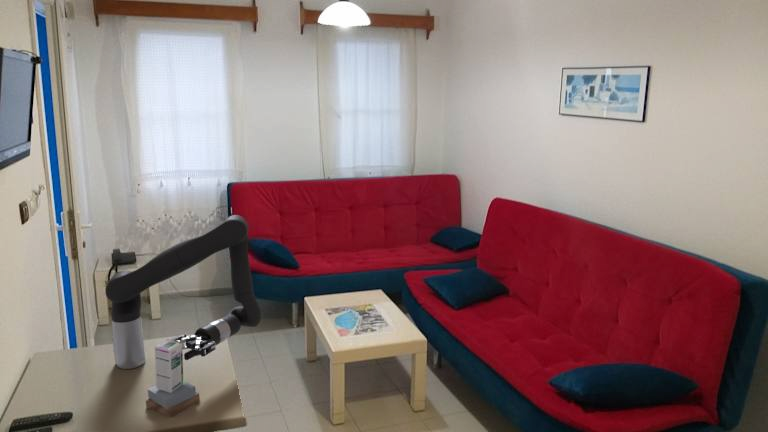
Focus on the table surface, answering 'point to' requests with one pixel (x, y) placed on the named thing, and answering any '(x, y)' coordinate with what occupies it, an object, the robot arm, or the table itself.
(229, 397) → the table surface
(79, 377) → the table surface
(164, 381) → the syrup box
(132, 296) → the robot arm
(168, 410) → the tower base
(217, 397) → the table surface
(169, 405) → the tower top
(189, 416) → the table surface
